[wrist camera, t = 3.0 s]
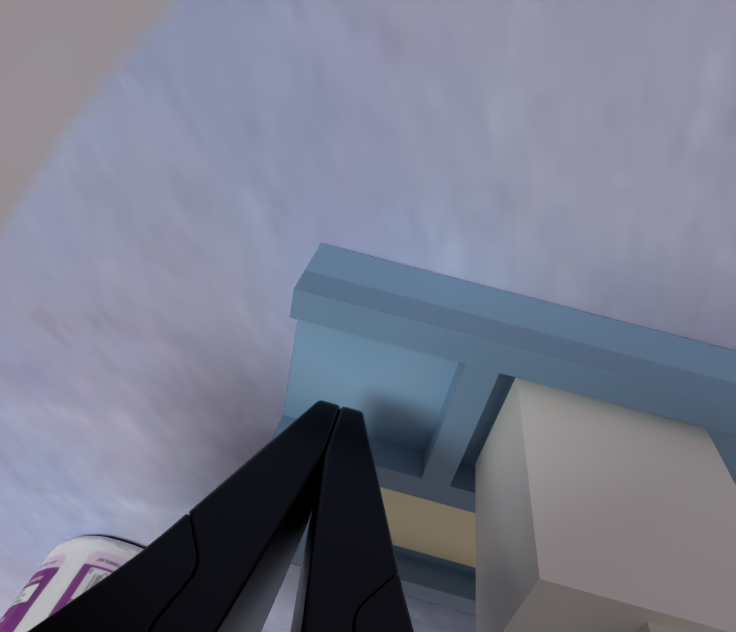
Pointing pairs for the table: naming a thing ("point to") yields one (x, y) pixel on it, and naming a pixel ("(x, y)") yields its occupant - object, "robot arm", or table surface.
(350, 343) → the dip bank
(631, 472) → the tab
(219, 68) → the table surface
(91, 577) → the pill bottle
